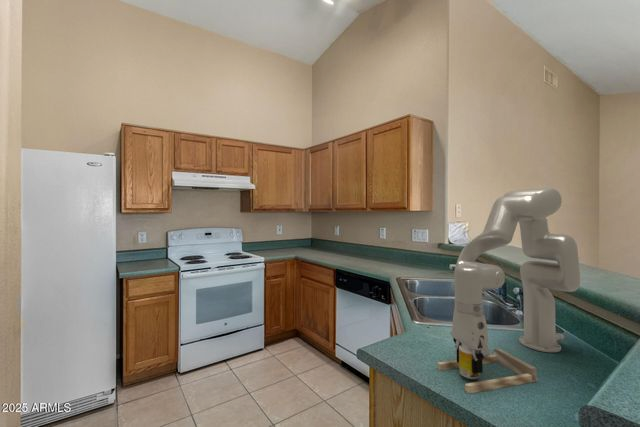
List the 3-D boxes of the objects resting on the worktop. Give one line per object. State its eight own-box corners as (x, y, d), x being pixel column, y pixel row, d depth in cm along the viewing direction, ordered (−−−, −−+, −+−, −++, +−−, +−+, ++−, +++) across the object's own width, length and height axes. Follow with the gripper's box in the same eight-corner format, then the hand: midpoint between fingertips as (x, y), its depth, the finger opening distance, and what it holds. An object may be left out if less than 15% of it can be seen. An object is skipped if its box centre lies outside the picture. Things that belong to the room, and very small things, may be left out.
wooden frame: (499, 359, 98) (498, 347, 98) (537, 381, 85) (537, 367, 85) (437, 368, 92) (437, 356, 92) (468, 393, 79) (468, 379, 79)
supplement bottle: (473, 382, 84) (473, 346, 84) (455, 373, 88) (454, 339, 88) (483, 376, 87) (483, 341, 87) (465, 368, 91) (465, 335, 91)
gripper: (502, 315, 80) (503, 380, 80) (458, 298, 97) (459, 352, 97) (480, 317, 78) (480, 384, 78) (439, 300, 95) (440, 355, 95)
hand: (469, 366), depth 87 cm, fingers closed on supplement bottle, 5 cm apart
